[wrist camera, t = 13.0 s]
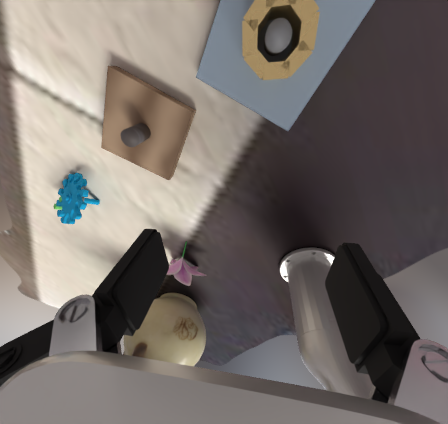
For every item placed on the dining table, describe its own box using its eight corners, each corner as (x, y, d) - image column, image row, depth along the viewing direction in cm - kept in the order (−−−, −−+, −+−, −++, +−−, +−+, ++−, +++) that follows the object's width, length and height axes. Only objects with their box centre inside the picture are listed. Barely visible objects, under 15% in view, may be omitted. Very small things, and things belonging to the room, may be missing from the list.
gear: (80, 164, 35) (78, 219, 33) (112, 174, 40) (112, 221, 38) (51, 180, 40) (48, 228, 38) (83, 187, 45) (81, 229, 43)
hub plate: (368, 2, 20) (407, -23, 15) (286, 128, 28) (293, 140, 23) (253, -86, 18) (252, -152, 13) (199, 77, 26) (185, 77, 21)
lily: (153, 240, 48) (142, 281, 44) (170, 231, 39) (158, 281, 35) (196, 251, 54) (189, 288, 50) (219, 245, 45) (213, 289, 41)
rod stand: (196, 110, 29) (183, 117, 24) (173, 175, 35) (159, 191, 31) (116, 66, 27) (86, 64, 22) (108, 144, 34) (84, 155, 29)
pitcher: (212, 325, 67) (192, 432, 47) (148, 314, 70) (103, 412, 49) (211, 287, 55) (184, 411, 34) (133, 276, 57) (64, 385, 37)
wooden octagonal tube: (311, -5, 19) (325, -26, 15) (300, 76, 23) (309, 76, 19) (244, 4, 20) (242, -13, 16) (244, 80, 24) (242, 81, 20)
